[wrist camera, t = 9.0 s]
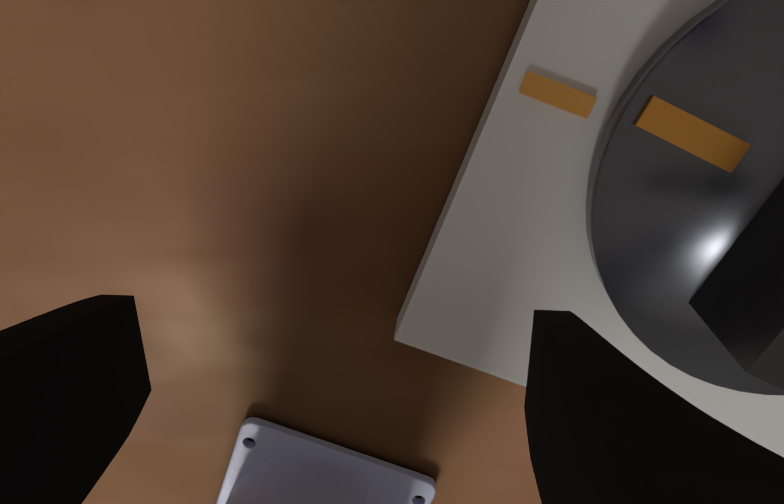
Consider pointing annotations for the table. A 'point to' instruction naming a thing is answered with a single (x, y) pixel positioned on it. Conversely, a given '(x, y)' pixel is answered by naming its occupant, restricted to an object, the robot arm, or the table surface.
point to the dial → (700, 199)
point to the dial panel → (550, 207)
